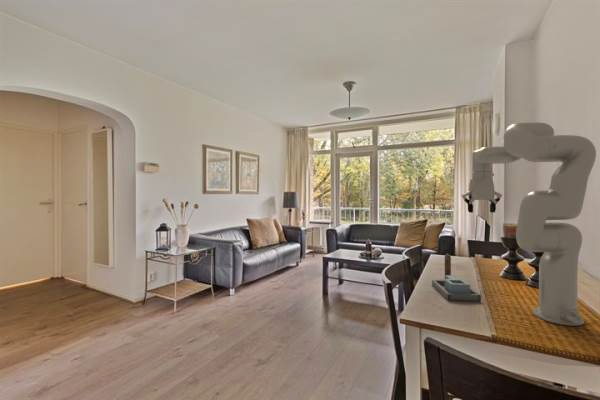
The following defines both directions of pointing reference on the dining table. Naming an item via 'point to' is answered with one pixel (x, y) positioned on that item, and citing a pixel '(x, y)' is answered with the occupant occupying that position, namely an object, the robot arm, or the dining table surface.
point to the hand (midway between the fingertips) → (481, 212)
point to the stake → (447, 264)
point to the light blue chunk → (456, 285)
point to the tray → (455, 297)
